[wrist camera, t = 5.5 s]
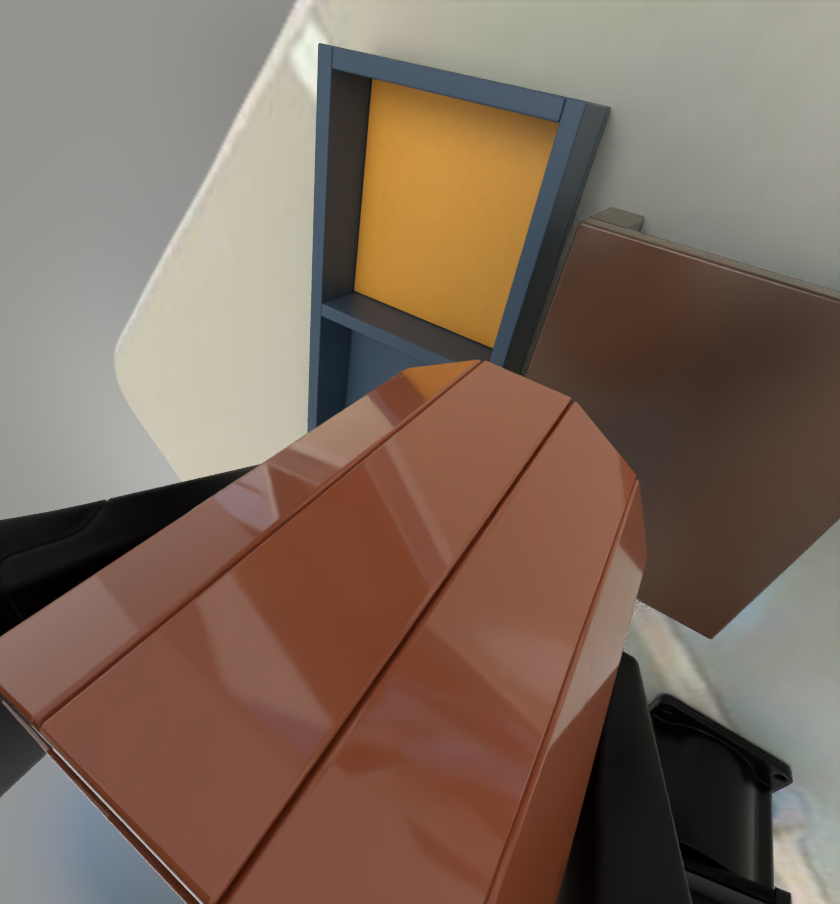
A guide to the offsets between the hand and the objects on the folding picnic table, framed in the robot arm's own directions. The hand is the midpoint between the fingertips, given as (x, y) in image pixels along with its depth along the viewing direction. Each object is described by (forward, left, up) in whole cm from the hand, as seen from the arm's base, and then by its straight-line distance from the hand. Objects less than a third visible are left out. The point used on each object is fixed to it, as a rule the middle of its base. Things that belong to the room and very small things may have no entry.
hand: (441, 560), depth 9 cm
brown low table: (-3, +1, -13) cm, 14 cm away
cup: (0, 0, -2) cm, 2 cm away
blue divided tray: (+7, +2, -13) cm, 15 cm away
